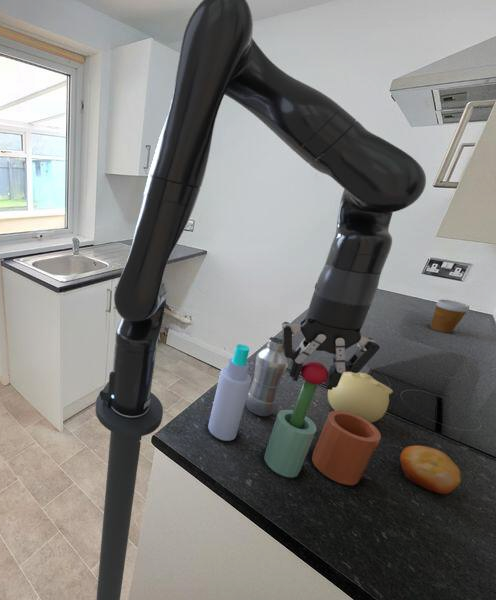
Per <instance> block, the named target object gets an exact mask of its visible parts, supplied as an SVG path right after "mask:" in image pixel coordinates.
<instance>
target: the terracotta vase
mask: <svg viewBox="0 0 496 600" xmlns="http://www.w3.org/2000/svg"><path fill="white" fill-rule="evenodd" d="M381 438H382V434H381V432H380V431H379V429H378V428H377V427H376V426H375V425H374V424H373V423H370V422H368V421H367V420H365V419H364V418H362V417H360V416H358V415H355V414H352V413H349V412H345V411H335V410H331V411H330V412H328V415H327V417H326V419H325V422H324V425H323V427H322V429H321V431H320V434H319V437H318V440H317V441H316V445H315V447H314V450H313V452H312V455H311V460H312V463H313V465H314V467H315V468H316V469H317V470H318V471H319V472H320V473H321V474H323V475H324V476H326V478H328V479H330V480H332V481H334V482H335V483H338V484H342V485H346V486H355V485H357V484H358V483H359V482H360V480H361V479H362V477H363V475H364V473H365V471H366V469H367V467H368V465H369V463H370V462H371V459H372V457H373V455H374V453H375V451H376V449H377V447H378V445H379V443H380V441H381Z"/></svg>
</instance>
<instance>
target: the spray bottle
mask: <svg viewBox="0 0 496 600" xmlns="http://www.w3.org/2000/svg"><path fill="white" fill-rule="evenodd" d="M249 353H250V347H249V346H247V345H246V344H236V346H235V349H234V353H233V357H231V358H229V360H228V363H227V366H226V367H223V368H221V369H220V372H219V377H218V382H217V386H216V390H215V394H214V399H213V403H212V407H211V412H210V415H209V420H208V426H207V427H208V431H209V433H210V434H211V435H212V436H213V437H215V438H216V439H217V440H220V441H224V442H229V441H233V440H235V439H236V437H237V434H238V432H239V431H238V430H239V427H240V425H241V420H242V417H243V413H244V410H245V407H246V404H245V402H246V398H247V395H248V391H249V390H250V387H251V384H252V377H251V375H250V374H249V369H250V364H249V362H248V357H249Z"/></svg>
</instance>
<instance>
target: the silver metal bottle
mask: <svg viewBox="0 0 496 600" xmlns="http://www.w3.org/2000/svg"><path fill="white" fill-rule="evenodd" d="M288 366H289V361H288V358H287V357H285V355H284V351H283V338H281V337H277V336H270V337H268V340H267V342H266V347H265V348H262V349H261V350H260V351H259V352H258V353H257V354H256V357H255V367H254V368H255V369H254V372H253V373H254V374H253V379H252V381H251V384H250V387H249V391H248V395H247V398H246V402H245V407H246V408H247V410H248V411H249V412H251V413H253V414H254V415H257V416H259V417H269V416H271V415H272V414H273V413H274V412H275V409H276V404H277V394H278V390H279V389H278V388H279V385H280V384H281V381H282V378H283V376H284V374H285V372H286V371H287V368H288Z"/></svg>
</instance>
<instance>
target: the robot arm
mask: <svg viewBox="0 0 496 600" xmlns="http://www.w3.org/2000/svg"><path fill="white" fill-rule="evenodd" d="M253 31H254V22H253V14H252V11H251V7H250V4H249V3H248V1H247V0H202V1H201V2H200V3H199V4H198V5H197V7H195V9H194V10H193V12H192V14H191V16H190V17H189V19H188V21H187V23H186V26H185V29H184V32H183V36H182V41H181V47H180V54H179V57H178V58H179V59H178V64H177V70H176V75H175V79H174V80H175V81H174V86H173V91H172V96H171V100H170V104H169V109H168V111H167V114H166V119H165V121H164V124H163V127H162V130H161V132H160V133H161V134H160V136H159V140H158V143H157V147H156V149H155V154H154V156H153V160H152V163H151V167H150V170H149V173H148V177H147V180H146V184H145V188H144V191H143V196H142V200H141V203H140V209H139V213H138V216H137V220H136V224H135V228H134V233H133V237H132V242H131V247H130V249H129V252H128V256H127V258H126V261H125V264H124V267H123V268H122V271H121V274H120V277H119V279H118V282H117V284H116V287H115V290H114V294H113V303H114V307H115V310H116V312H117V314H118V315H119V317H120V321H119V323H118V326H117V328H116V331H115V336H114V338H115V339H114V351H113V361H112V362H113V363H112V369H111V370H110V372H109V377H108V382H107V383H106V384H105V386H104V387H103V389H102V390H100V391H99V394H100V397H101V399H102V400H105V401H107V407H109V408H111V409H112V411H113V412H114V413H116V414H117V415H119V416H121V417H123V418H127V419H137V418H141V417H143V416H145V415H146V414H147V412H148V410H149V404H150V400H151V398H150V393H152V384H153V377H154V369H155V364H156V363H155V362H156V357H157V348H158V343H159V337H160V335H161V331H162V327H163V322H164V314H165V310H166V303H167V295H168V294H167V285H166V283H165V281H164V279H163V278H164V274H165V271H166V268H167V265H168V262H169V260H170V257H171V255H172V253H173V251H174V249H175V247H176V246H177V244H178V242H179V240H180V239H181V237H182V235H183V233H184V231H185V229H186V227H187V224H188V223H189V221H190V218H191V216H192V214H193V212H194V209H195V206H196V204H197V200H198V198H199V196H200V192H201V190H202V186H203V182H204V179H205V177H206V176H205V175H206V171H207V168H208V163H209V157H210V153H211V147H212V141H213V135H214V130H215V124H216V120H217V117H218V113H219V110H220V108H221V104H222V101H223V99H224V96H226V97H228V98H229V99H231V100H233V101H235V102H236V103H238V104H239V105H240V106H241V107H242V108H244V109H245V110H247V111H248V112H250V113H251V114H252V115H254V116H255V117H256V118H257V119H258V120H259V121H261V122H262V123H263V124H264V125H265V126H266V127H267V128H268V129H269V130H270V131H271V132H273V133H274V134H275V135H276V136H277V137H278V138H279V139H280V140H281V141H282V142H283V143H284V144H285V145H286V146H287V147H288V148H289V149H291V150H292V151H293V152H294V153H295V154H296V155H297V156H298V157H299V158H301V159H302V160H303V161H304V162H306V164H308V165H309V166H310V167H312V168H313V169H314V170H315V171H317V172H319V173H321V174H323V175H327V176H329V178H331V179H333V180H334V181H335V182H336V183H337V184H338V185H339V186H341V187H342V188H343V191H342V195H341V197H340V202H339V203H340V204H339V208H338V214H337V221H336V230H335V234H334V237H333V239H332V242H331V244H330V247H329V250H328V253H327V257H326V259H325V263H324V265H323V268H322V270H321V271H320V273H319V276H318V278H317V282H315V285H314V289H313V290H314V291H313V294H312V297H311V300H310V303H309V306H308V309H307V312H306V315H305V317H304V319H303V320H302V321H300V323H290V322H288V321H284V322H282V324H281V330H282V331H281V334H282V339H283V351H284V355H285V357H286V358H287V359H290V360H291V361H290V365H289V368H288V373H289V377H290V378H291V381H294V382H298V380H299V377H300V374H301V369H302V366H303V365H304V364H303V362H305V360H306V359H307V358H308V357H309V356H311V355H312V354H313V353H314V352H315V351H318V352H326V353H329V354H331V355H332V365H330V366H329V369H328V370H327V371H328V378H327V380H326V381H325V382H323V384H324V387H325V389H326V390H332V388H333V387H334V388H336V387H337V386H338V384H339V381H340V379H341V376H342V374H343V373H344V372H352V373H360V372H361V370H362V369H363V368H364V367H365V366H366V365H367V364H368V363H369V362H370V360H371V359H372V358H373V357H374V355H376V353H377V352H378V351H379V350H380V346H379V344H378V343H377V341H375V339H373V338H372V337H365V336H363V335H362V334H361V329H362V328H363V325H364V323H365V320H366V319H367V315H368V313H369V310H370V308H371V306H372V303H373V300H374V299H375V296H376V293H377V290H378V287H379V284H380V278H381V275H382V272H383V269H384V267H385V264H386V262H387V260H388V257H389V254H390V252H391V249H392V245H393V236H392V235H391V232H389V229H390V224H391V220H392V218H393V213H395V212H398V211H402V210H404V209H407V208H408V207H410V206H411V205H413V204H414V203H415V202H416V201H418V200H419V199H420V197H421V196H422V194H423V193H424V191H425V188H426V184H427V176H426V172H425V170H424V168H423V167H422V166H421V164H420V163H419V162H418V161H417V160H416V159H415V158H414V157H412V155H410V154H409V153H408V152H406V151H404V150H402V149H401V148H399V147H398V146H396V145H394V144H392V143H391V142H389V141H387V140H386V139H384V138H382V137H380V136H378V135H376V134H374V133H372V132H371V131H369V130H368V129H367V128H365V127H364V126H363V124H362V123H360V122H359V120H357V119H356V118H355V117H354V116H353V115H352V114H350V113H349V112H348V111H347V110H345V109H344V108H343V106H341V105H340V104H338V102H336V101H335V100H333V98H331V97H329V96H328V95H326V94H324V93H323V92H321V91H320V90H318V89H316V88H314V87H313V86H310V85H308V84H307V83H304V82H302V81H300V80H298V79H296V78H294V77H293V76H292V75H289V74H288V73H286V72H285V71H284V70H282V69H281V68H279V67H278V66H277V65H276V64H275V63H274V62H272V60H271V59H269V57H268V56H267V55H266V54H265V53H264V51H262V48H260V47H259V45H258V43H257V42H256V41H255V39H254V38H253V33H254V32H253ZM299 332H301V333H302V335H303V337H304V338H303V339H302V340H301V341H300V342H299V346H298V347H297V348H296V349H294V348H293V337H296V336H297V334H298V333H299ZM353 345H356V346H357V349H356V350H355V351H354V352H353V354H352V355H351V356H350V357H349V358H348V360H347V359H346V350H347V349H349V348H351V347H352V346H353Z"/></svg>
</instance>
